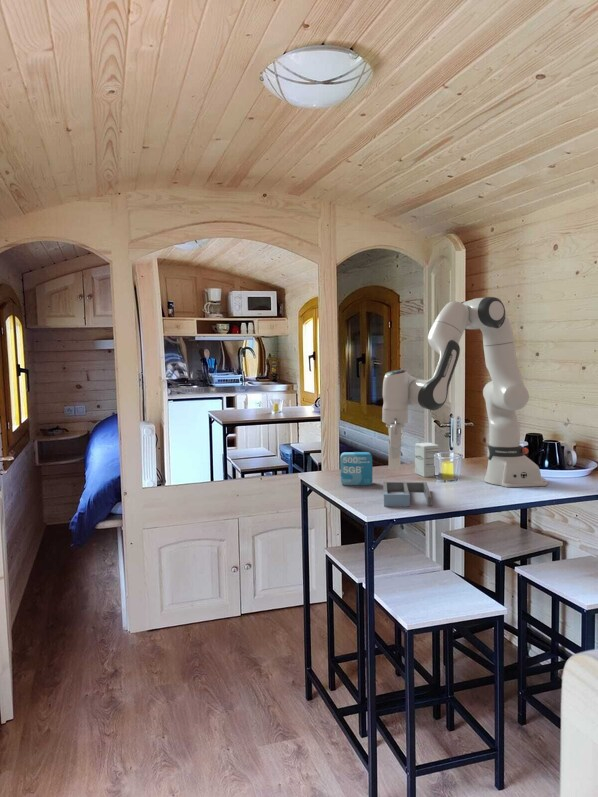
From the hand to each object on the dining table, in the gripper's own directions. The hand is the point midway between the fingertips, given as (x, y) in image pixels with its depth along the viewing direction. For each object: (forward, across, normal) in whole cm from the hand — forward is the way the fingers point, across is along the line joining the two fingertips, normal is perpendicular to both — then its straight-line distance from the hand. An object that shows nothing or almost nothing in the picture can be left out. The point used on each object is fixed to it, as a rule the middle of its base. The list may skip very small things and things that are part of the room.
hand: (394, 456), depth 210 cm
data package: (+15, +20, +14) cm, 29 cm away
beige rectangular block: (+4, 0, 0) cm, 4 cm away
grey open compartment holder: (+14, 0, -4) cm, 15 cm away
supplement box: (+14, +37, -14) cm, 42 cm away
